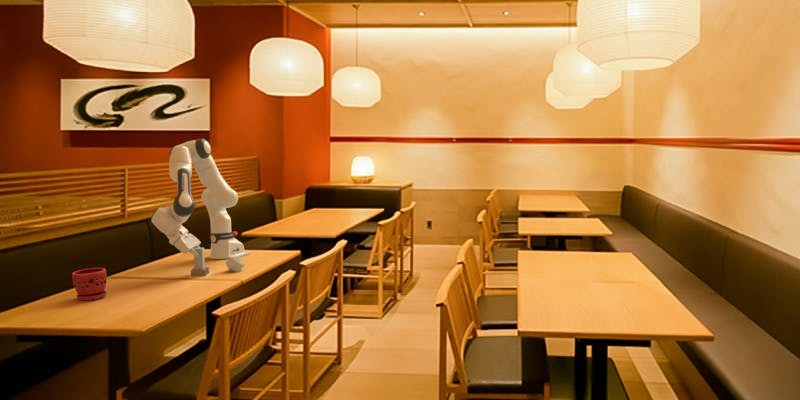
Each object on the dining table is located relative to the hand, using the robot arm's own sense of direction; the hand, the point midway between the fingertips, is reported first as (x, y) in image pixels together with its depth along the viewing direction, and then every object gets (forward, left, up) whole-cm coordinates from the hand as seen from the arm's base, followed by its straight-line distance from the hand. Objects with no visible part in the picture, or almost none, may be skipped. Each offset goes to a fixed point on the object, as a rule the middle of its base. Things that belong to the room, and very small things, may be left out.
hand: (200, 254), depth 322 cm
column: (0, -1, -7) cm, 7 cm away
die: (-15, +7, -10) cm, 20 cm away
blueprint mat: (-1, -1, -10) cm, 10 cm away
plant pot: (+54, -5, -10) cm, 56 cm away
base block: (0, -1, -10) cm, 10 cm away
